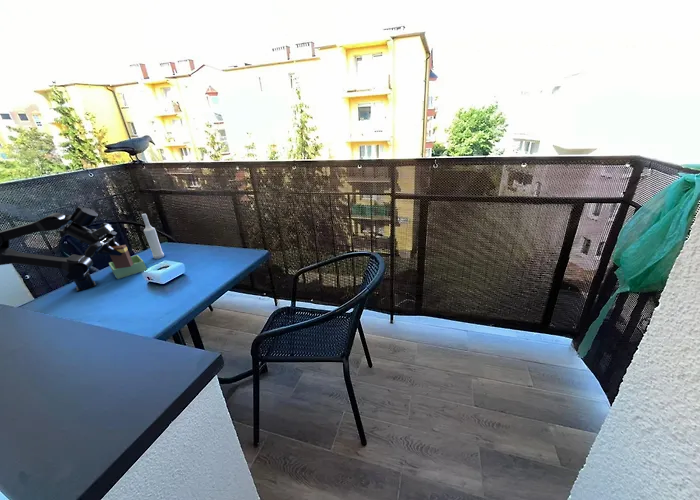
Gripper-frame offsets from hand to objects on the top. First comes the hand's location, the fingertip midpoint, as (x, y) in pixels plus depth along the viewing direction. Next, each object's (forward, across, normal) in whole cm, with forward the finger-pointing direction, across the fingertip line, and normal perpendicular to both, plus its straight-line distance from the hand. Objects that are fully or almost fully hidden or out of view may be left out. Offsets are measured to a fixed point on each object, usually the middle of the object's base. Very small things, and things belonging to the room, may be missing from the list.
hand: (122, 253), depth 125 cm
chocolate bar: (+4, 0, +6) cm, 7 cm away
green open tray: (+6, +10, +13) cm, 18 cm away
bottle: (+13, +24, +7) cm, 28 cm away
